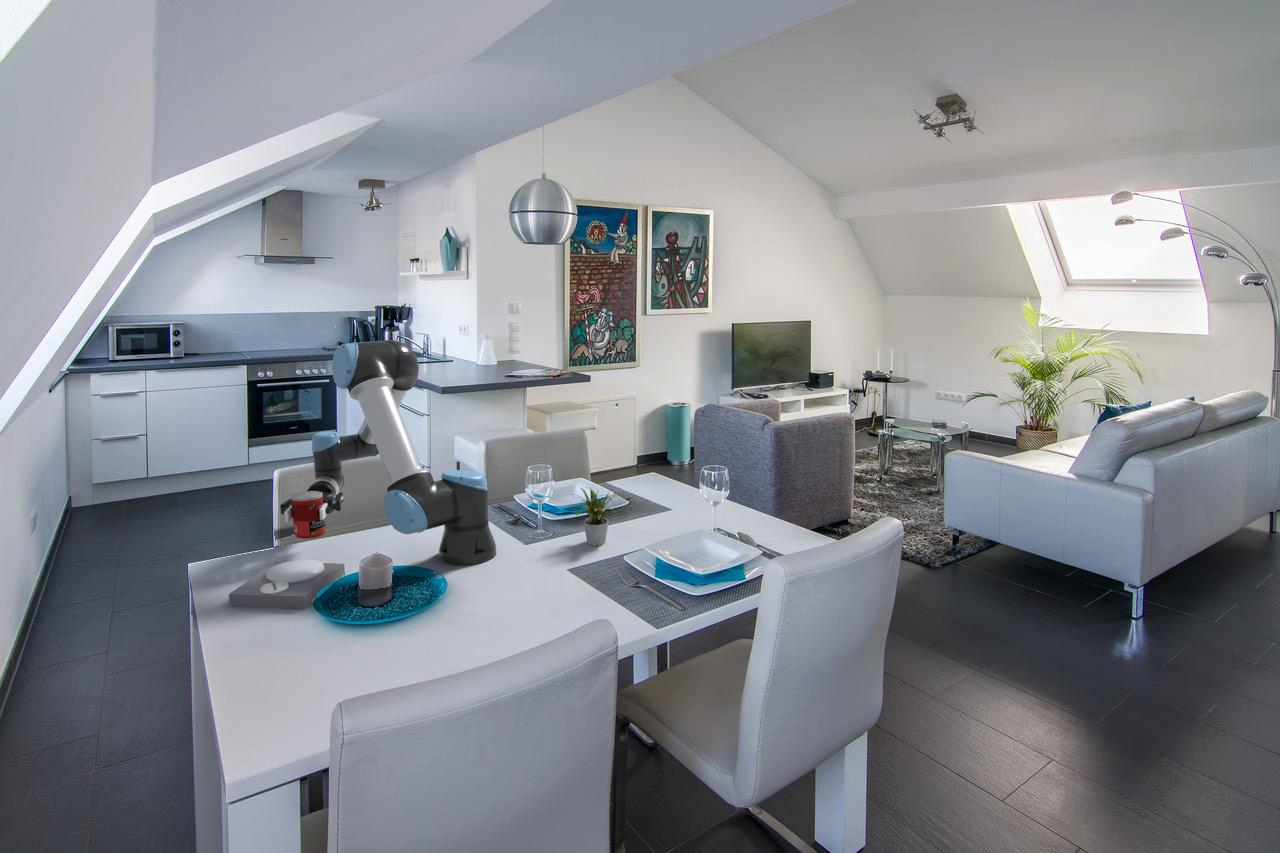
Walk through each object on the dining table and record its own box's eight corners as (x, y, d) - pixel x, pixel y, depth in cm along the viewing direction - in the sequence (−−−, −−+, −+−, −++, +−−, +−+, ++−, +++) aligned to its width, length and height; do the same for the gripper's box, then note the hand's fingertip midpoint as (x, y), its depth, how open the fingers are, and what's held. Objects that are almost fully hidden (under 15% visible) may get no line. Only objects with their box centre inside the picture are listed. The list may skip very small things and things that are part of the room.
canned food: (315, 539, 202) (311, 499, 200) (288, 538, 203) (283, 497, 201) (332, 530, 209) (328, 491, 207) (305, 529, 211) (302, 490, 209)
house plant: (556, 542, 219) (555, 486, 216) (590, 530, 229) (590, 476, 226) (592, 554, 210) (592, 496, 207) (626, 540, 220) (626, 485, 217)
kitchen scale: (345, 574, 196) (343, 560, 195) (305, 608, 176) (304, 592, 175) (276, 572, 197) (275, 558, 196) (230, 606, 178) (228, 589, 177)
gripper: (361, 503, 225) (347, 527, 203) (285, 507, 221) (262, 532, 199) (359, 478, 224) (344, 499, 202) (282, 482, 220) (259, 504, 198)
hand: (303, 516), depth 201 cm, fingers closed on canned food, 8 cm apart
